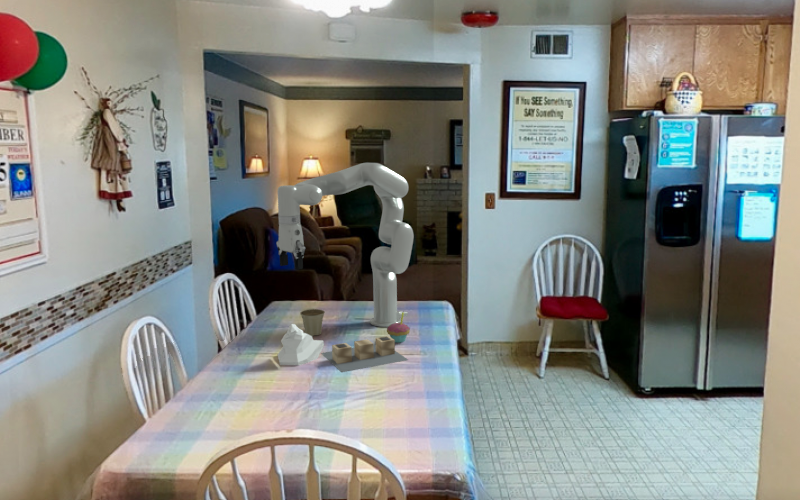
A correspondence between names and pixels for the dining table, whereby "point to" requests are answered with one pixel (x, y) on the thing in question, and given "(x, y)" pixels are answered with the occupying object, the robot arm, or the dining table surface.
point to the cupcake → (398, 331)
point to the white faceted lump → (298, 347)
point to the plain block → (363, 349)
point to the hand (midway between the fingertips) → (291, 267)
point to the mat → (365, 361)
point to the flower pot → (312, 321)
